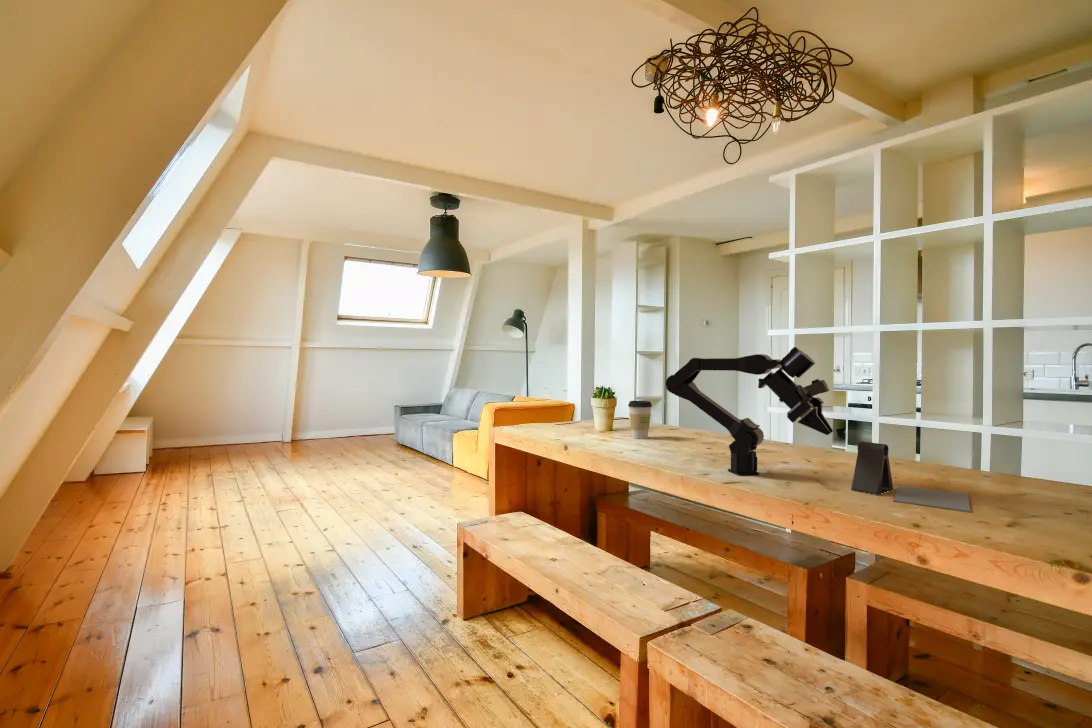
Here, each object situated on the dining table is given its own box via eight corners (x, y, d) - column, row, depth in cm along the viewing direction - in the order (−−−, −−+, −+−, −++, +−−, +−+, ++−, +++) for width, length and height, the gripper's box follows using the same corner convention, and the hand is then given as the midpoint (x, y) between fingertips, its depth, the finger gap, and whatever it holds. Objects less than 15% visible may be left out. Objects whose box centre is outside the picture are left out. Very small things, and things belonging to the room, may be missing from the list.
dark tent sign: (868, 485, 138) (868, 439, 138) (893, 490, 133) (894, 443, 133) (851, 490, 133) (851, 443, 133) (876, 495, 128) (877, 446, 128)
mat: (893, 501, 123) (893, 500, 123) (899, 486, 137) (899, 485, 137) (970, 512, 114) (970, 511, 114) (967, 495, 129) (967, 493, 129)
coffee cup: (654, 439, 212) (654, 402, 212) (629, 439, 212) (629, 402, 212) (649, 436, 222) (649, 400, 221) (626, 435, 222) (626, 400, 222)
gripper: (801, 369, 134) (850, 416, 128) (815, 368, 149) (860, 410, 142) (768, 399, 139) (814, 445, 132) (785, 395, 154) (827, 436, 147)
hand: (830, 433), depth 139 cm, fingers open, 4 cm apart
